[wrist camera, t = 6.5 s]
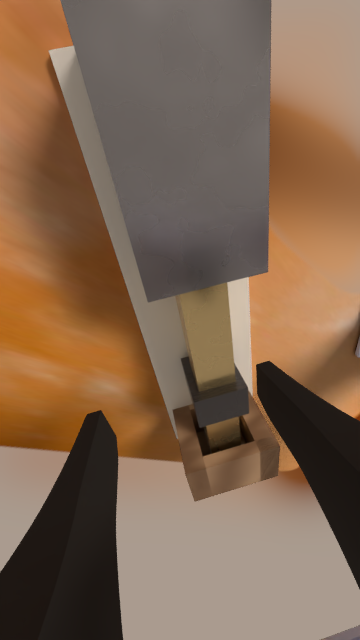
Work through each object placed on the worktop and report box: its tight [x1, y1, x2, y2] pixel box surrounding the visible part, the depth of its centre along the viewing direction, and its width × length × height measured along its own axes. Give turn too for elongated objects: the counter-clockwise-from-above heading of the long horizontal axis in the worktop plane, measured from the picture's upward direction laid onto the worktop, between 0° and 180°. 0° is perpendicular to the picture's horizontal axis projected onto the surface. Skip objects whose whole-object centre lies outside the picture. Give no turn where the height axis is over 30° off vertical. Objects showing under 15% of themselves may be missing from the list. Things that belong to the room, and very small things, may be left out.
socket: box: [173, 390, 280, 501], centre depth 25 cm, size 8×5×6 cm, turn 101°
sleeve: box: [61, 0, 271, 302], centre depth 12 cm, size 6×10×6 cm, turn 11°
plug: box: [175, 283, 249, 454], centre depth 20 cm, size 4×19×5 cm, turn 11°
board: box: [49, 46, 253, 439], centre depth 20 cm, size 9×31×1 cm, turn 11°
